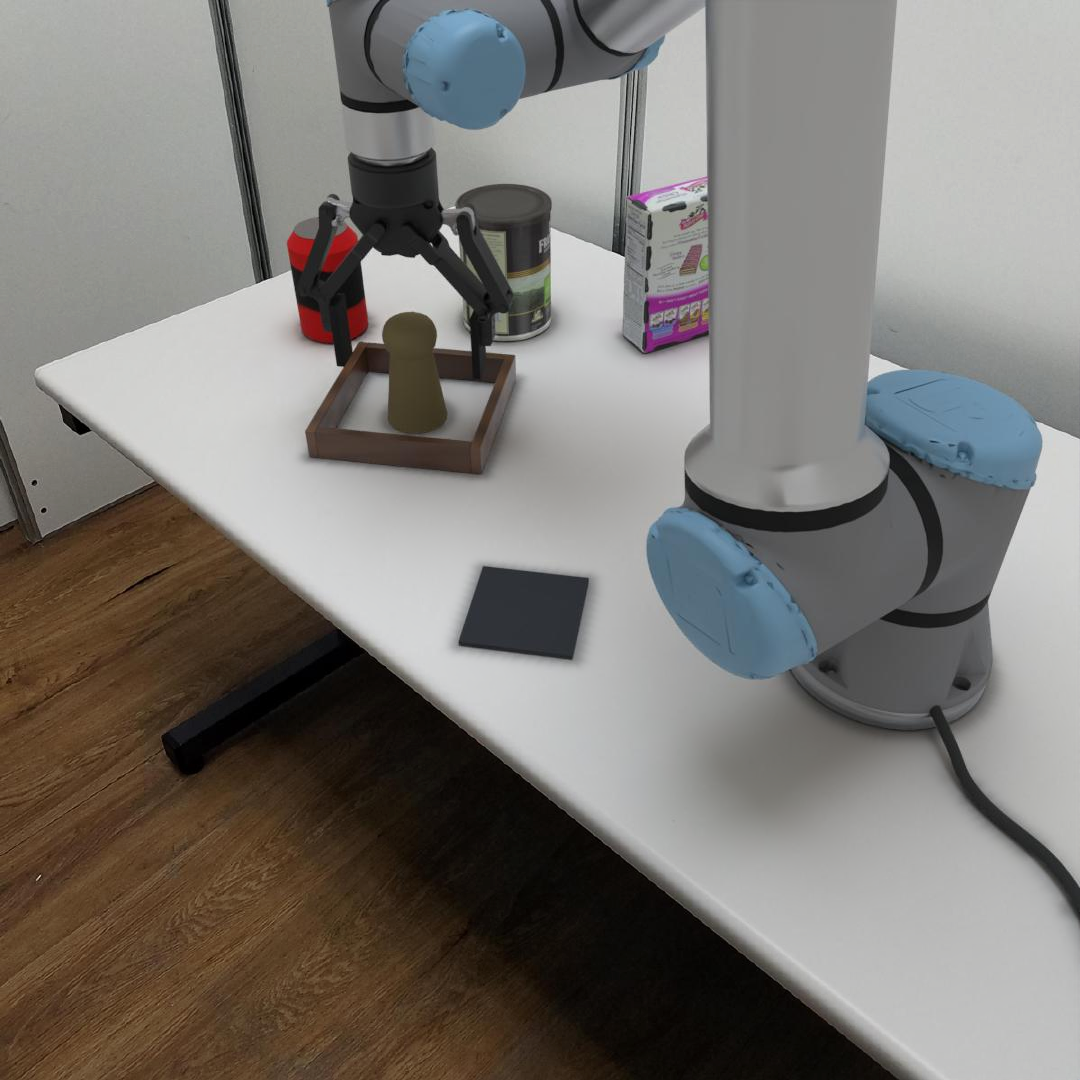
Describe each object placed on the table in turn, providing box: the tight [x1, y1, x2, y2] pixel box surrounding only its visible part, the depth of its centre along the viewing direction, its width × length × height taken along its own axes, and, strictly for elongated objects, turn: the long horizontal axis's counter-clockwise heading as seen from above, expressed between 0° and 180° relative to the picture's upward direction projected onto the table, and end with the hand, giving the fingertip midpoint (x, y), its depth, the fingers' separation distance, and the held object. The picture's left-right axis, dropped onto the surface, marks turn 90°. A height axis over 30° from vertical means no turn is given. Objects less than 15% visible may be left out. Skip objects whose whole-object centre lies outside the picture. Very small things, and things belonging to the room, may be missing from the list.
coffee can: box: [454, 183, 553, 342], centre depth 118 cm, size 10×10×14 cm
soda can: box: [286, 216, 369, 344], centre depth 118 cm, size 8×8×12 cm
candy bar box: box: [622, 176, 709, 354], centre depth 115 cm, size 11×5×16 cm, turn 119°
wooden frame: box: [304, 341, 517, 475], centre depth 107 cm, size 17×17×3 cm
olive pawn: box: [381, 311, 448, 434], centre depth 104 cm, size 6×6×11 cm
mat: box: [458, 565, 589, 660], centre depth 86 cm, size 9×9×1 cm
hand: (411, 366), depth 104 cm, fingers open, 13 cm apart
